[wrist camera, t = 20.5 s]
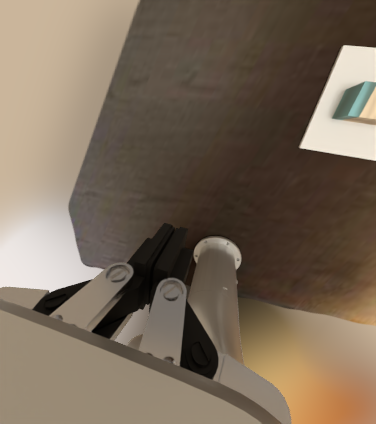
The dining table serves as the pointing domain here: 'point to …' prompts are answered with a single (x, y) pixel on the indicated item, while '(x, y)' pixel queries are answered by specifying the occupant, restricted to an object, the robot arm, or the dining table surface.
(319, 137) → the mat
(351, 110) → the block
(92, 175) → the dining table surface
